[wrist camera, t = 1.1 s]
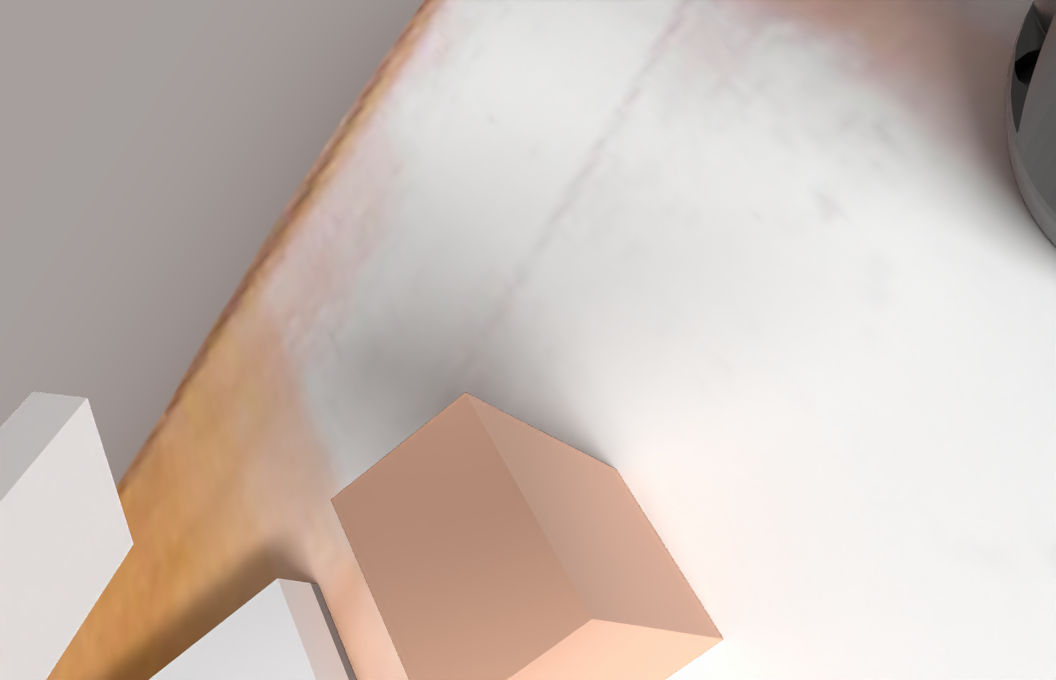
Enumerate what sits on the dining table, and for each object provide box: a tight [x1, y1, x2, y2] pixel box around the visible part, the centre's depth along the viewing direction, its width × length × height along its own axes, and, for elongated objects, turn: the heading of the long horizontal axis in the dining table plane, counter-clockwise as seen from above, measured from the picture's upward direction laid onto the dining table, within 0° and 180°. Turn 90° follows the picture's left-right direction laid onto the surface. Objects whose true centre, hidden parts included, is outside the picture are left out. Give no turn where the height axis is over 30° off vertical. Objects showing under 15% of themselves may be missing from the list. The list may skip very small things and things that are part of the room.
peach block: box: [331, 392, 723, 680], centre depth 30 cm, size 5×7×11 cm
